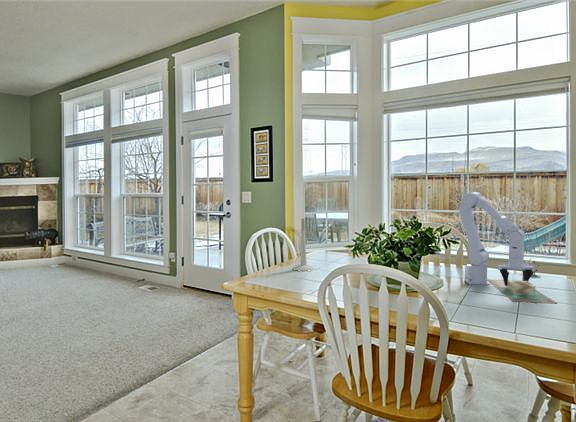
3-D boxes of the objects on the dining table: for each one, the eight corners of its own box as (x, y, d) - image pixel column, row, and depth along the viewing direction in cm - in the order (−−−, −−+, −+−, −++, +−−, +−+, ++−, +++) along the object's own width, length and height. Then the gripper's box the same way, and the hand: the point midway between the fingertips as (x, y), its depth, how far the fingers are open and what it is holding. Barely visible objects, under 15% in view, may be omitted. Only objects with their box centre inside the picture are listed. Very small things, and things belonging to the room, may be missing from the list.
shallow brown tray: (513, 301, 147) (513, 301, 147) (485, 279, 181) (485, 279, 181) (557, 303, 144) (557, 303, 144) (521, 280, 177) (521, 280, 177)
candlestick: (291, 267, 216) (290, 217, 214) (312, 266, 218) (312, 216, 215) (294, 272, 204) (293, 219, 201) (316, 271, 205) (316, 218, 203)
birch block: (514, 294, 156) (514, 285, 156) (507, 289, 164) (507, 280, 164) (535, 295, 154) (535, 286, 154) (526, 289, 162) (527, 281, 162)
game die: (533, 282, 188) (545, 269, 182) (516, 275, 189) (527, 263, 183) (530, 270, 195) (541, 258, 188) (514, 264, 196) (525, 252, 190)
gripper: (501, 257, 161) (501, 287, 162) (538, 258, 158) (537, 288, 159) (496, 254, 168) (495, 283, 169) (530, 255, 165) (530, 284, 166)
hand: (515, 285), depth 165 cm, fingers open, 7 cm apart
